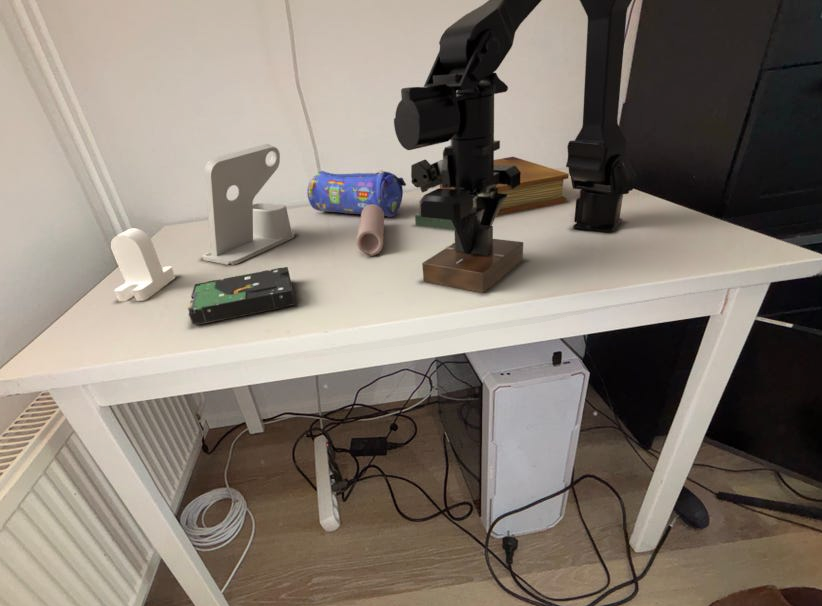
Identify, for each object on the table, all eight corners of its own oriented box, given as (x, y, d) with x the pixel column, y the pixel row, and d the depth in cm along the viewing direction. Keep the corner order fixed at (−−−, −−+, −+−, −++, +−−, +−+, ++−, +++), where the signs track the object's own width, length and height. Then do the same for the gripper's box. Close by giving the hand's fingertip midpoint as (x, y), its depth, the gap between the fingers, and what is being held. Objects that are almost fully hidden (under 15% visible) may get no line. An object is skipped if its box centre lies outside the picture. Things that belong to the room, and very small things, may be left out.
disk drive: (291, 281, 79) (198, 299, 77) (287, 265, 78) (193, 282, 76) (296, 307, 71) (192, 327, 69) (292, 289, 69) (186, 309, 67)
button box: (479, 218, 96) (479, 197, 94) (459, 230, 91) (458, 209, 89) (437, 214, 102) (436, 194, 100) (415, 225, 97) (414, 205, 95)
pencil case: (409, 210, 106) (405, 165, 101) (388, 222, 101) (383, 174, 96) (331, 206, 118) (324, 164, 113) (308, 217, 112) (299, 173, 107)
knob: (492, 252, 72) (493, 224, 70) (487, 256, 71) (487, 227, 68) (460, 248, 75) (459, 220, 73) (455, 251, 74) (454, 224, 72)
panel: (522, 260, 76) (523, 241, 74) (482, 293, 68) (482, 272, 66) (466, 252, 81) (466, 234, 80) (423, 281, 73) (421, 261, 71)
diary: (440, 195, 115) (438, 169, 112) (512, 181, 118) (512, 156, 115) (481, 218, 96) (481, 189, 93) (566, 202, 99) (568, 172, 96)
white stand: (176, 276, 88) (156, 221, 82) (145, 300, 79) (120, 241, 74) (151, 277, 89) (129, 223, 83) (117, 301, 80) (91, 243, 75)
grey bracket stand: (266, 231, 106) (244, 142, 96) (299, 235, 100) (279, 141, 91) (200, 259, 94) (168, 161, 85) (233, 265, 89) (203, 162, 79)
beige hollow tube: (382, 230, 82) (384, 202, 97) (355, 230, 82) (360, 203, 98) (383, 256, 85) (384, 225, 100) (356, 257, 85) (361, 226, 100)
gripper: (455, 125, 75) (458, 225, 83) (381, 150, 63) (393, 263, 71) (524, 123, 68) (520, 231, 77) (455, 150, 57) (459, 275, 65)
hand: (473, 248), depth 73 cm, fingers open, 3 cm apart
